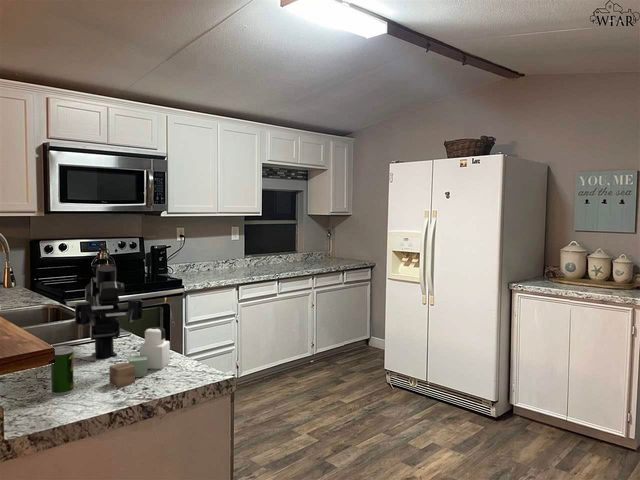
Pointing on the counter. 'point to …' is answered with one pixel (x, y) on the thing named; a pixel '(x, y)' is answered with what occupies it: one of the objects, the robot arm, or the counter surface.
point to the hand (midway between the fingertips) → (112, 322)
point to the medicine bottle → (156, 348)
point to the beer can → (62, 371)
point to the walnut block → (122, 374)
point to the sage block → (139, 365)
